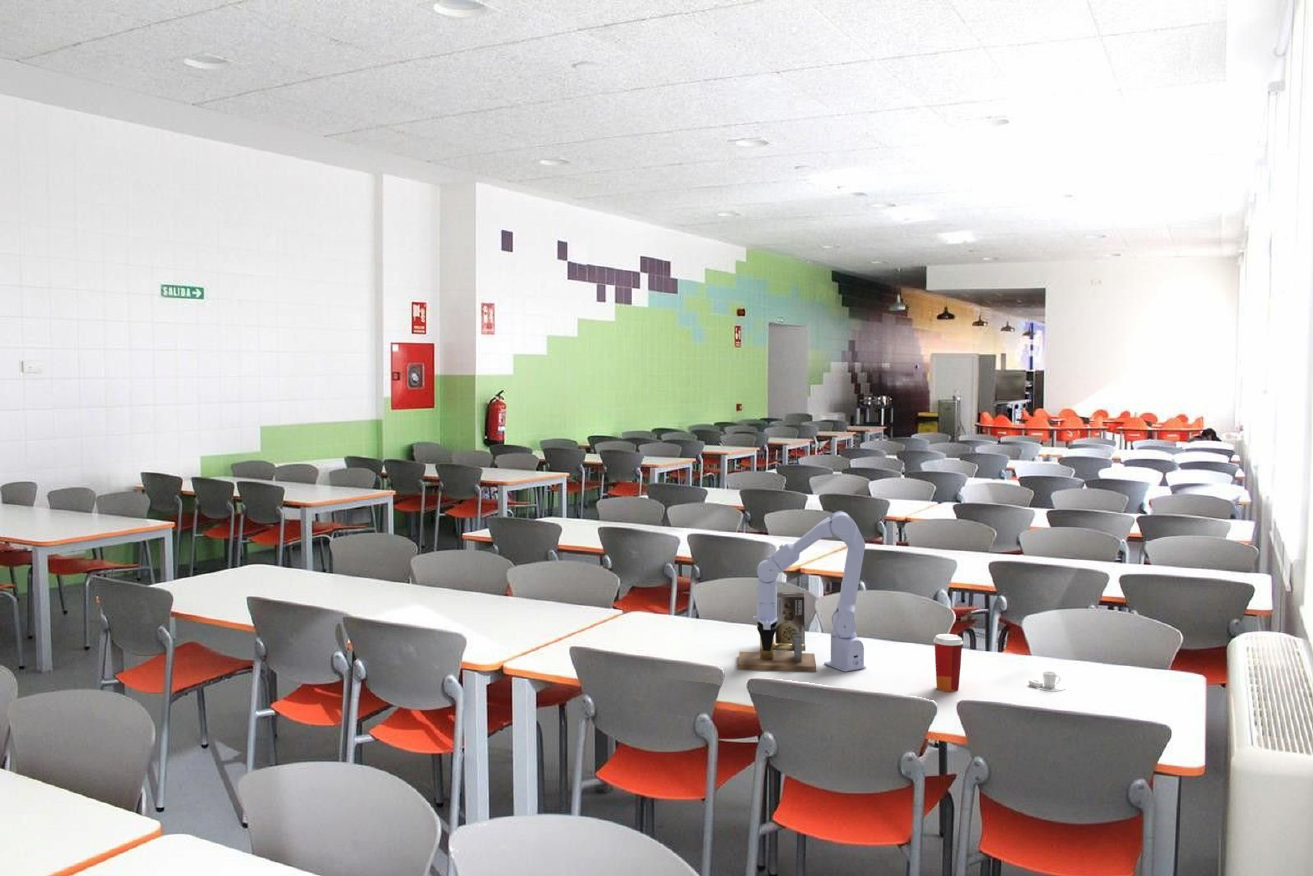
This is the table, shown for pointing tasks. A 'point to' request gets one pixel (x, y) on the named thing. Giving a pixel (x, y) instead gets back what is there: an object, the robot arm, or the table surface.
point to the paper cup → (948, 661)
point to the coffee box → (790, 617)
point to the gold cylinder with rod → (776, 647)
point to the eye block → (780, 660)
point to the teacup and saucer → (1047, 681)
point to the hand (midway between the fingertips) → (766, 648)
